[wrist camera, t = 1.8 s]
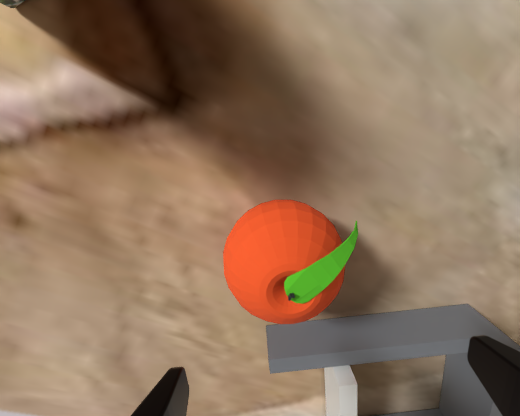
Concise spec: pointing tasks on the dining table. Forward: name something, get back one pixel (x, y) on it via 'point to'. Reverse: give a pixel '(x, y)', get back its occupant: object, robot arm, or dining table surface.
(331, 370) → the pusher paddle
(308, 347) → the grey shallow tray
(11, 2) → the syrup box
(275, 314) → the clementine
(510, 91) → the dining table surface
